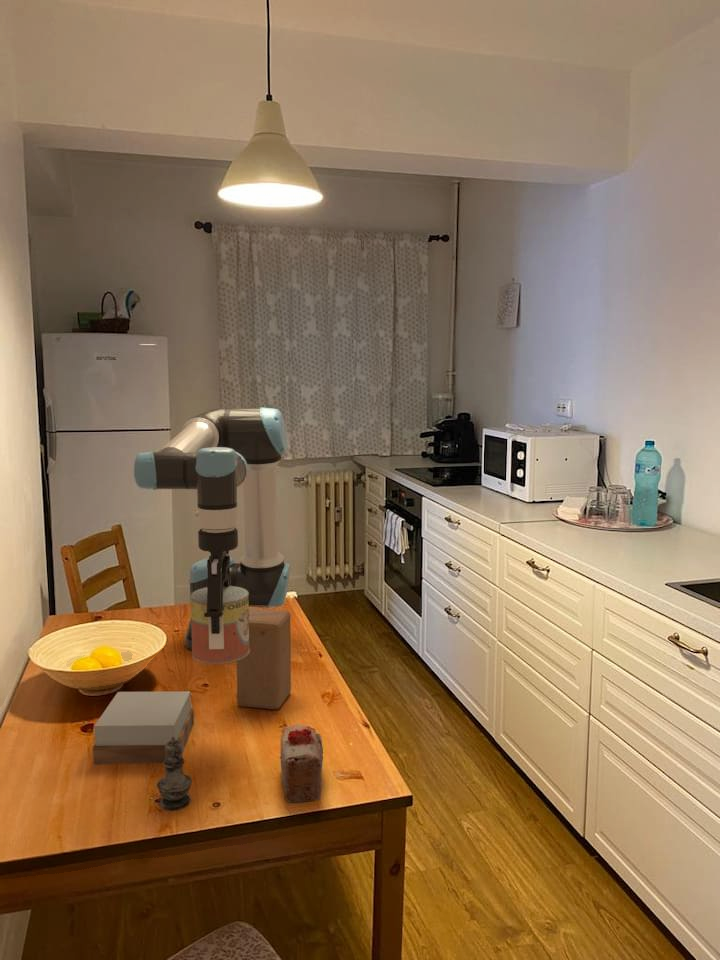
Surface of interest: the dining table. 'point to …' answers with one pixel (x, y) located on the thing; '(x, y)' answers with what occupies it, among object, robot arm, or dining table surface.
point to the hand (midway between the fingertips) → (220, 637)
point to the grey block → (143, 718)
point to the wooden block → (266, 660)
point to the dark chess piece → (174, 779)
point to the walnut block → (140, 749)
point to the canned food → (234, 626)
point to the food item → (301, 763)
